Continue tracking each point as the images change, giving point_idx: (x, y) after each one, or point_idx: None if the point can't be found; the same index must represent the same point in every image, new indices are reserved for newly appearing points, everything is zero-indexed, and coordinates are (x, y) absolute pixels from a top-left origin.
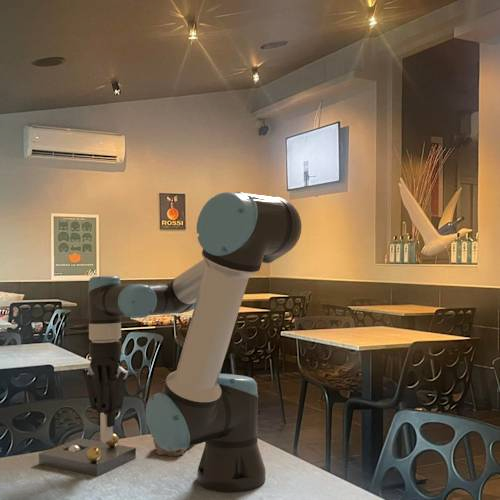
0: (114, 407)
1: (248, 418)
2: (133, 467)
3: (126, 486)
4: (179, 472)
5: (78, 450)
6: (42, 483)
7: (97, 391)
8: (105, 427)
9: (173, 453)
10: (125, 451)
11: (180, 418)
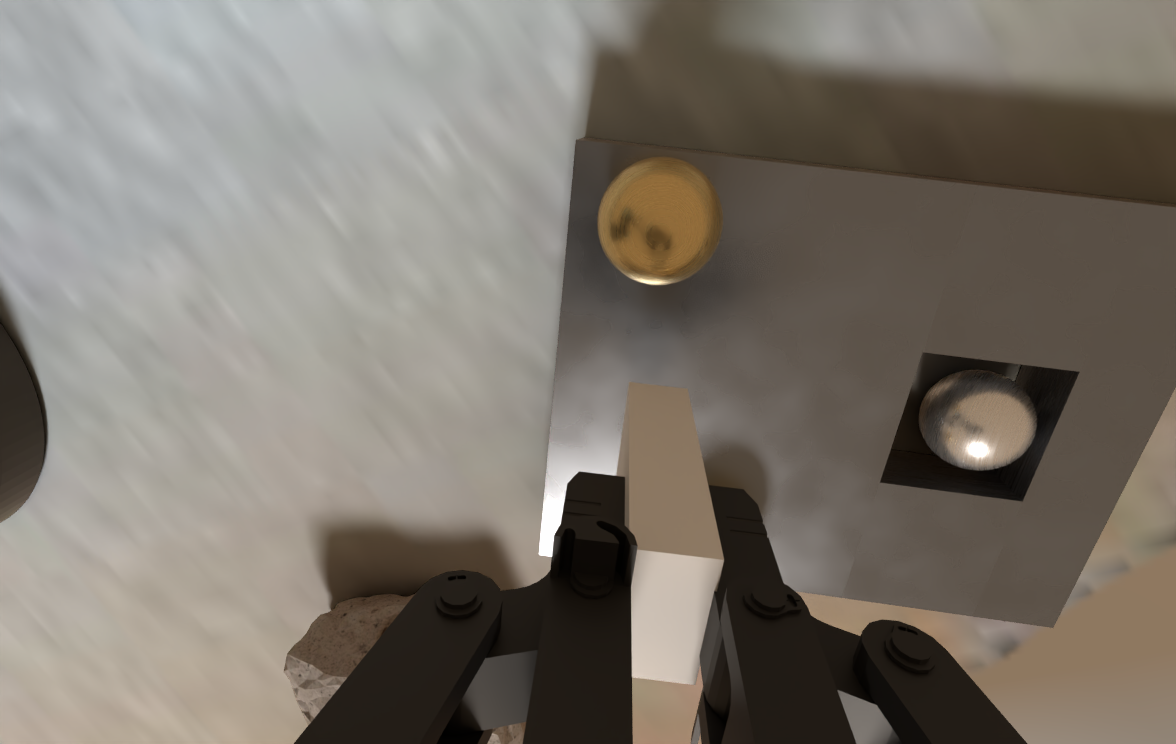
0: (423, 617)
1: None
2: (462, 372)
3: (274, 38)
4: (167, 384)
5: (936, 419)
6: None
7: None
8: (628, 450)
9: (357, 601)
10: (559, 475)
11: None
